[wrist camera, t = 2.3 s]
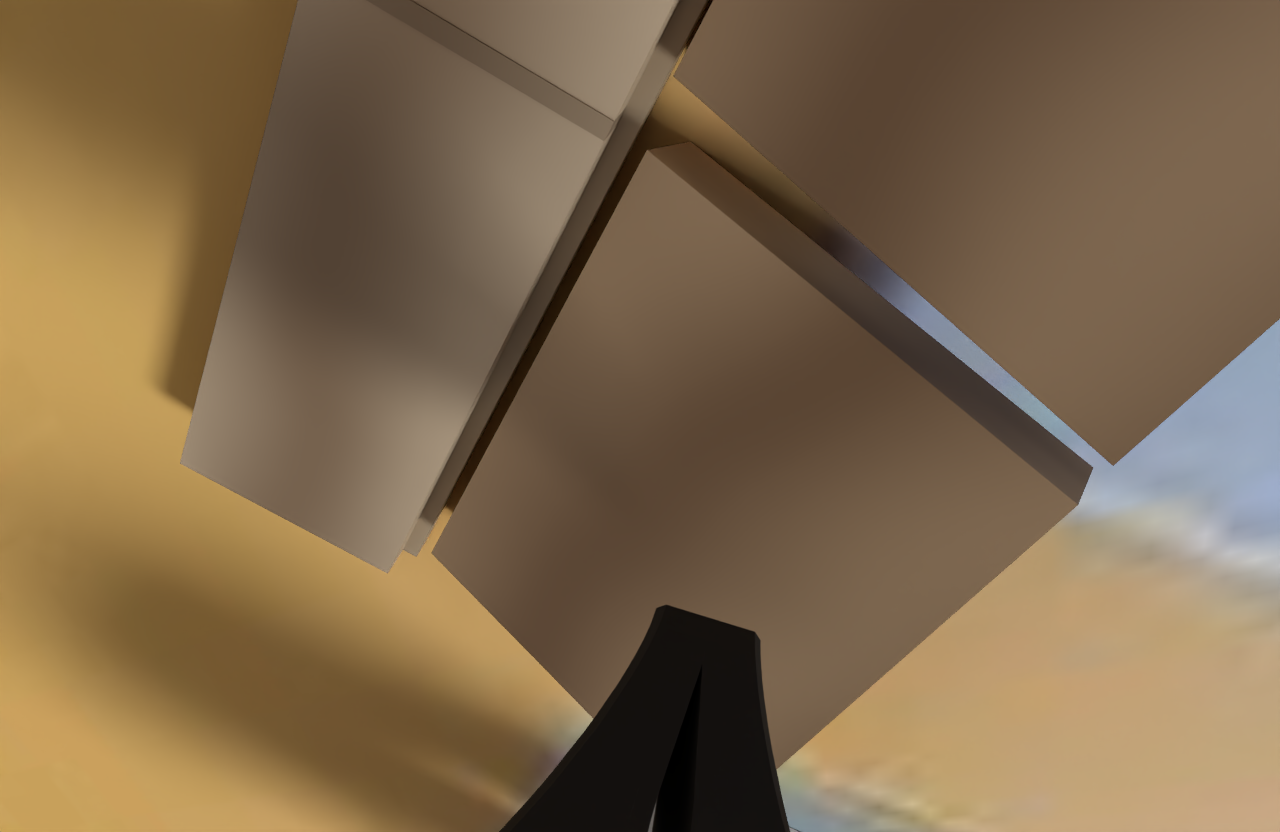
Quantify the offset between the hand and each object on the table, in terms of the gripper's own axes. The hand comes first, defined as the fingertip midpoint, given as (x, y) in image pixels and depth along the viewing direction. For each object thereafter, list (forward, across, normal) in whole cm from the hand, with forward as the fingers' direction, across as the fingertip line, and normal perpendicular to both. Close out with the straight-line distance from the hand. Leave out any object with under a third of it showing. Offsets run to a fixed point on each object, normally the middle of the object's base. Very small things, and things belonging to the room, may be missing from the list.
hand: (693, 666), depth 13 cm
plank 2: (+3, 0, 0) cm, 3 cm away
